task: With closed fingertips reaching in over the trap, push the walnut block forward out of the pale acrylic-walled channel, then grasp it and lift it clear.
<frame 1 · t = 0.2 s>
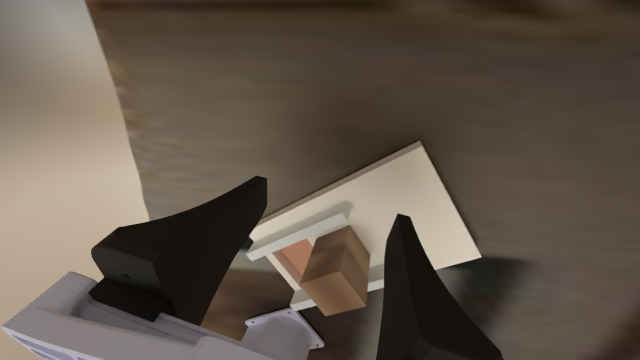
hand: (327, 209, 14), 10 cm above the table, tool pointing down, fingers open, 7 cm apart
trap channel: (345, 237, 28), on the table
walnut block: (343, 246, 26), point 1 cm above the table, touching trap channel
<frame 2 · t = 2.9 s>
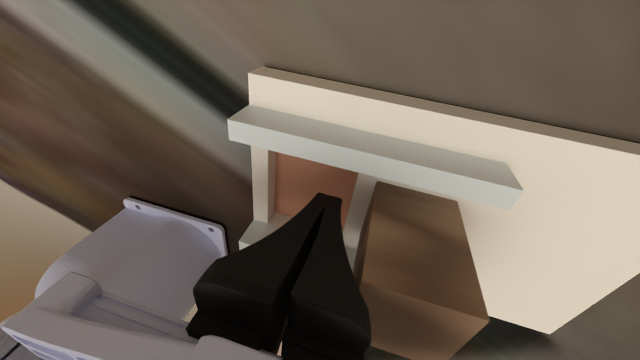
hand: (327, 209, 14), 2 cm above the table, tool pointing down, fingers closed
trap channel: (403, 201, 15), on the table
walnut block: (403, 218, 14), point 1 cm above the table, touching gripper, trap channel
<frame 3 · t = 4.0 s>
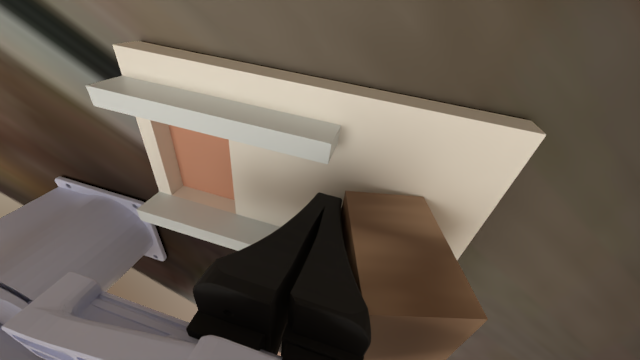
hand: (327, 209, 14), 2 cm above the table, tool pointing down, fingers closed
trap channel: (287, 171, 16), on the table
walnut block: (375, 221, 14), point 2 cm above the table, tilted 16°
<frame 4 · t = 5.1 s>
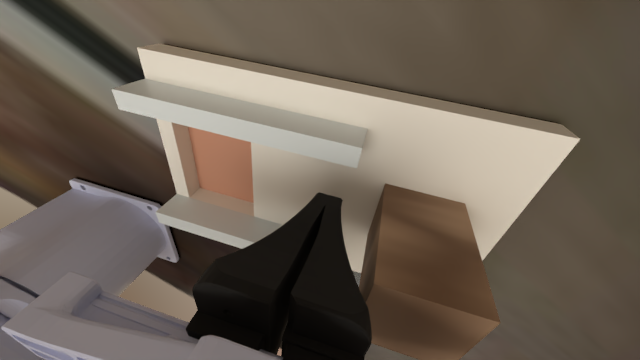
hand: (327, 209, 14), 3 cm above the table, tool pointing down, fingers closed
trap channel: (307, 174, 16), on the table
walnut block: (411, 220, 14), point 1 cm above the table, touching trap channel
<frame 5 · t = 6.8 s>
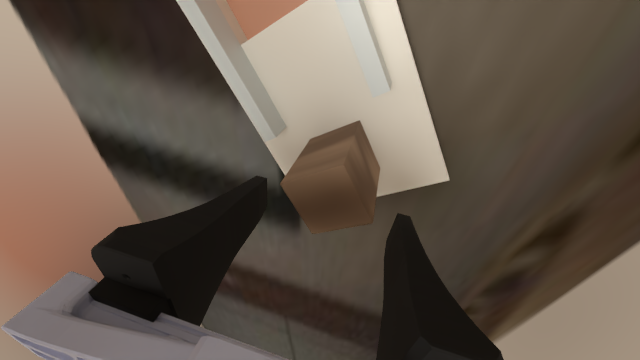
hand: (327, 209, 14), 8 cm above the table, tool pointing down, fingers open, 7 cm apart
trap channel: (313, 61, 18), on the table
walnut block: (345, 153, 19), point 1 cm above the table, touching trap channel
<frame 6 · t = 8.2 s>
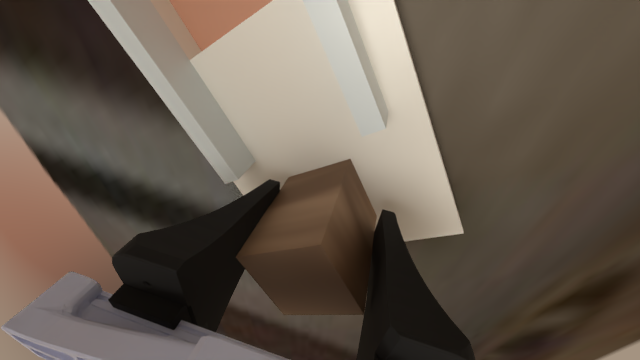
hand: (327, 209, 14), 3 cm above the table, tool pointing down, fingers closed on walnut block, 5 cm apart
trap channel: (287, 81, 14), on the table
walnut block: (332, 196, 15), point 2 cm above the table, touching gripper, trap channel
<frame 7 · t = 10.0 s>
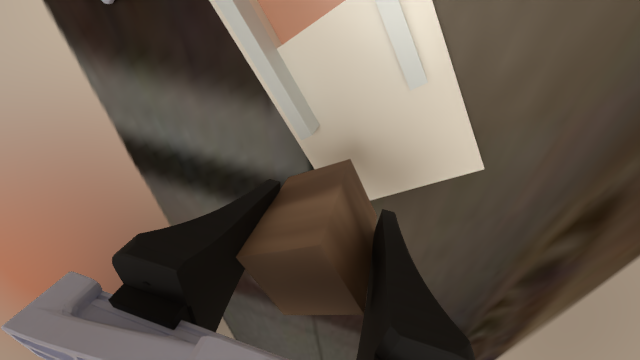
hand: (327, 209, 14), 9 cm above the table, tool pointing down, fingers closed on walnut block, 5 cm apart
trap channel: (345, 60, 18), on the table
walnut block: (332, 196, 15), point 8 cm above the table, touching gripper
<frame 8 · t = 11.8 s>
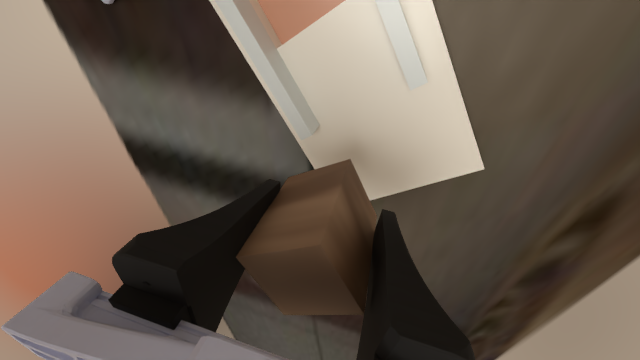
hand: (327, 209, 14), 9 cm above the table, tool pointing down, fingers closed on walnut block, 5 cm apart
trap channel: (345, 60, 18), on the table
walnut block: (332, 196, 15), point 8 cm above the table, touching gripper
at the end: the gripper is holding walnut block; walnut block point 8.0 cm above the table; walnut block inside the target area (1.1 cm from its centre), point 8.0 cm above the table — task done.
